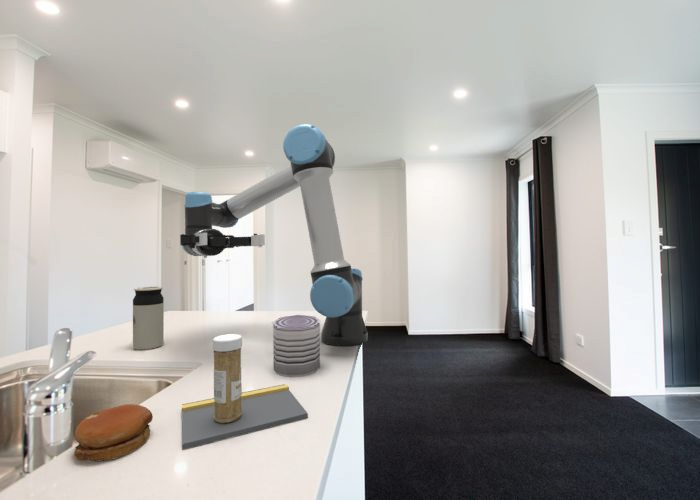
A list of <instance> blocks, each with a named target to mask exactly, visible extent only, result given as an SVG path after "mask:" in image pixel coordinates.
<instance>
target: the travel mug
mask: <svg viewBox="0 0 700 500" xmlns="http://www.w3.org/2000/svg"><path fill="white" fill-rule="evenodd" d="M162 290H163V286H142V287H134V289H133V291H134V293H135V295H134V297H133V299H132V349H134V350H136V351H146V349H148V350H153V349H152V348H154V349H157V347H158V348H160V347H161V346H163V345H164V340H165V339H164V330H165V329H164V324H165V323H164V322H165V321H164V320H165V319H164V315H165V313H164V302H165V301H164V296H163V294H162Z"/></svg>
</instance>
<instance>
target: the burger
mask: <svg viewBox="0 0 700 500" xmlns="http://www.w3.org/2000/svg"><path fill="white" fill-rule="evenodd" d="M153 417H154V415H153V412H152V411H151V410H150V409H149V408H147V407H146V406H143V405H140V404H134V403H133V404H131V403H130V404H129V403H128V404H121V405H118V406H113V407H111V408H108V409H101V410H100V411H95V412H93V413H90V414H89V415H88V416H85V417H84V418H83V419H82V420H81V421H80V422H79V424H78V425H77V426H76V429H75V431H74V438H75V441H76V442H77V443H78V444H77V446H75V448H74V452H73V453H74V454H73V455H74V458H75V459H77V460H78V461H86V460H88V461H92V462H97V461H102V462H103V461H104V460H106V461H110V460H113V459H114V460H115V459H118V458H121V457H123V456H125V455H128V454H130V453H133V452H134V451H136V450H138V449H139V448H140V447H142V446H143V445H144V444H145V443H147V442H148V440H149V438H150V435H151V431H150V430H151V429H150V427H151V426H150V423H152V421H153Z"/></svg>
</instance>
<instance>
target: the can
mask: <svg viewBox="0 0 700 500" xmlns="http://www.w3.org/2000/svg"><path fill="white" fill-rule="evenodd" d="M321 322H322V320H321V319H319V318H317V317H316V316H314V315H304V314H303V315H302V314H296V315H295V314H294V315H287V316H280V317H279V318H277V319H275V320H274V321H272V322H271V323H272V325H273V326H272V328H273V329H272V330H273V331H272V332H273V335H272V338H273V339H272V340H273V344H272V345H273V371H274V372H275V374H276V375H278V376H282V377H285V378H296V377H297V378H299V377H307V376H309V375H313V374H316V373H317V372H318V371H319V369H320V368H321V341H320V340H321V333H320V331H321V330H320V329H321Z"/></svg>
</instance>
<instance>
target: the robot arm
mask: <svg viewBox="0 0 700 500" xmlns="http://www.w3.org/2000/svg"><path fill="white" fill-rule="evenodd" d="M282 149H283V152H284V155H285V157H286V159H287V160H288V162H290V164H289V165H288V166H285V167H284V168H281V169H280V170H278V171H276V172H275V173H273V174H271V175H270V176H268V177H266V178H264V179H263V180H260V181H259V182H257V183H255V184H254V185H251V186H250V187H248V188H246V189H245V190H243V191H241V192H239V193H237V194H235V195H233V196H232V197H230V198H228V199H226V200H224V201H223V202H221V203H216V202H213V199H212V198H213V196H212V195H211V193H208V192H206V191H205V192H204V191H189V192H187V193H186V194H185V196H184V197H185V198H184V199H185V201H184V233H183V234H180V235H179V236H180V239H179V241H180V242H179V243H180V246H182V249H183V251H184V252H185V253H187V255H190V256H193V257H203V258H204V259H207V258H208V257H213V256H214V257H215V256H217V255H220V254H221V253H223V251H224V250H225V249H234V248H239V247H263V246H265V245H266V243H265V242H266V241H265V237H266V235H265V234H258V233H253V235H251V236H235V235H233V234H232V235H230V234H227V235H226V234H224V233H222V231H220V230H219V229H215V228H213V227H219V228H222V229H224V228H225V229H227V228H232V227H234V226H236V224H238V222H239V220H240V219H242V218H244V217H245V216H247V215H250V214H251V213H253V212H255V211H256V210H259V209H260V208H263V207H264V206H266V205H268V204H270V203H272V202H274V201H275V200H277V199H280V198H281V197H283V196H284V195H287V194H288V193H290V192H292V191H294V190H296V189H298V188H299V187H300V192H301V197H302V202H303V208H304V214H305V219H306V220H305V221H306V225H307V231H308V237H309V241H310V247H311V248H310V249H311V253H312V258H313V263H314V264H313V267H312V268H311V270H310V277H311V283H312V285H311V289H310V292H309V298H310V299H309V300H310V303H311V305H312V307H313V308H314V310H315V311H316V312H317V313H318V314H320V315H322V316H324V317H325V320H324V323H323V327H322V329H321V333H320V340H321V341H320V342H322V343H324V344H326V345H330V346H331V345H332V346H340V347H342V346H346V347H347V346H356V345H361V344H364V343H366V342H368V340H369V337H368V335H369V333H368V330H367V327H366V323H365V321H364V318H363V276H362V275H363V273H362V271H361V270H360V269H359V268H352V265H351V264H350V263H349V262H348V261H347V260H345V256H344V252H343V247H342V241H341V235H340V230H339V229H340V228H339V224H338V218H337V214H336V209H335V203H334V197H333V193H332V188H331V187H332V186H331V181H330V178H331V176H332V175H333V174H334V169H333V168H334V166H335V162H336V155H335V151H334V149H333V146H332V145H331V144H330V143H329V141H328V140H327V138H326V136H325V134H324V133H323V131H322V130H320V129H319V128H318V127H317V126H315V125H313V124H310V123H301V124H298V125H296V126H294V127H292V128H291V129H290V130H289V131H288V133H287V134H286V135H285V137H284V139H283V144H282Z"/></svg>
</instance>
